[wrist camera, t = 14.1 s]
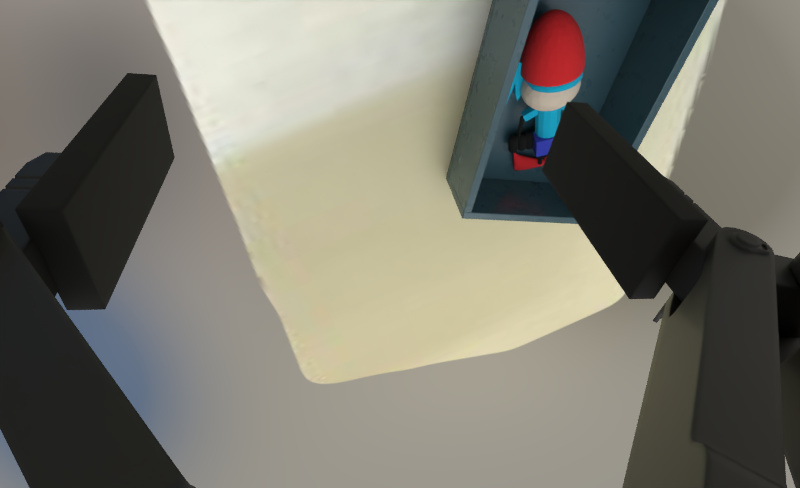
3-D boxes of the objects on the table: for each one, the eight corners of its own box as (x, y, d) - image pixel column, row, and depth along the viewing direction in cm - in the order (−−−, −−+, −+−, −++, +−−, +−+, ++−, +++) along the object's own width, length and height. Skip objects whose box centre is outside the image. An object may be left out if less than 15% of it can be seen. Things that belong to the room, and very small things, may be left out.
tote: (509, -66, 33) (544, -52, 28) (670, -36, 35) (728, -18, 30) (446, 178, 45) (461, 218, 40) (567, 186, 48) (596, 225, 43)
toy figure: (575, 139, 46) (592, -17, 34) (593, 173, 43) (619, 15, 31) (500, 157, 46) (491, 10, 35) (512, 191, 43) (507, 43, 32)
